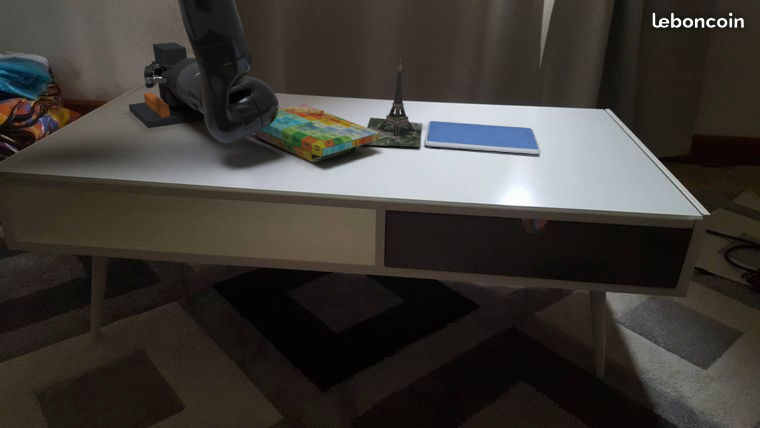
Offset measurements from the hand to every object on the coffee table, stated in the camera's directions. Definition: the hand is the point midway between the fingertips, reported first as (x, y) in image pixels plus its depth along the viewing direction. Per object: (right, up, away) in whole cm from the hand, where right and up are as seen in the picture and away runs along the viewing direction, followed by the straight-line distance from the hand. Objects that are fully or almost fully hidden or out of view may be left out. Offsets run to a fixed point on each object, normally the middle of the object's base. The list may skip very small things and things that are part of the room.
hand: (167, 65), depth 106 cm
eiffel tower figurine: (+42, -13, -4) cm, 44 cm away
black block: (+1, -6, +1) cm, 7 cm away
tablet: (+57, -15, -5) cm, 59 cm away
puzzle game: (+28, -17, -11) cm, 34 cm away
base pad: (+1, -9, +2) cm, 9 cm away
